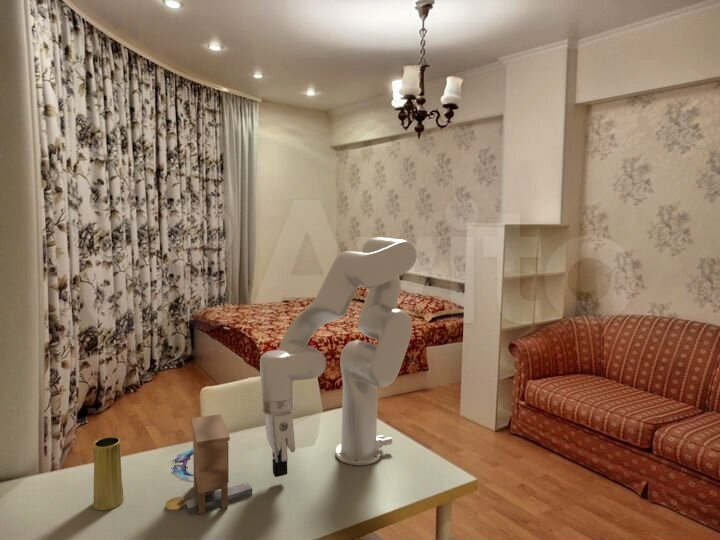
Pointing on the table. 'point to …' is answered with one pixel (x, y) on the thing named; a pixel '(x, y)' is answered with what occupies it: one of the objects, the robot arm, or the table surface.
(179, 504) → the token
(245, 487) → the bar
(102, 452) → the vase
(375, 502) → the table surface
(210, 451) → the cabinet
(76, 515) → the table surface
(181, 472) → the decorative blades
